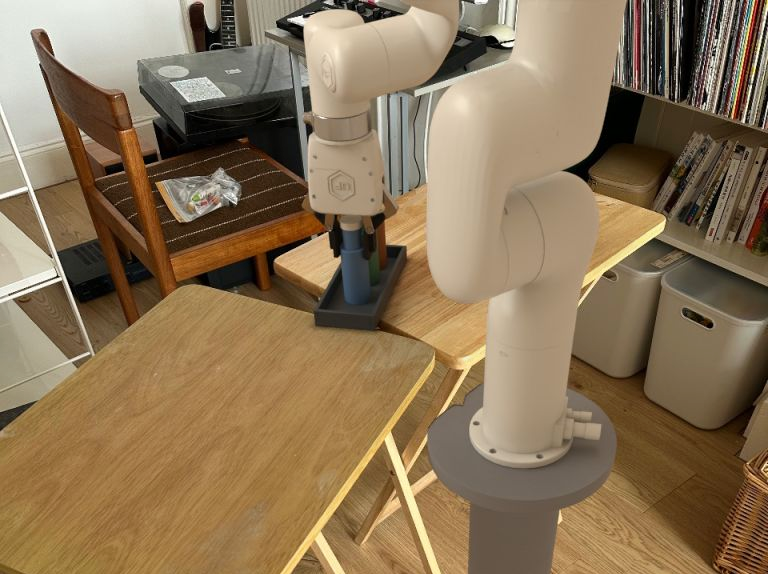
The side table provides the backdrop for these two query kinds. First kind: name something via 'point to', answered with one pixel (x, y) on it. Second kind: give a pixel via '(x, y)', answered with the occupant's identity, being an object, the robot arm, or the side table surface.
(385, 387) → the side table surface
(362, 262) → the blue bottle
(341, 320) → the tray
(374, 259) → the green bottle
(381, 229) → the amber bottle
